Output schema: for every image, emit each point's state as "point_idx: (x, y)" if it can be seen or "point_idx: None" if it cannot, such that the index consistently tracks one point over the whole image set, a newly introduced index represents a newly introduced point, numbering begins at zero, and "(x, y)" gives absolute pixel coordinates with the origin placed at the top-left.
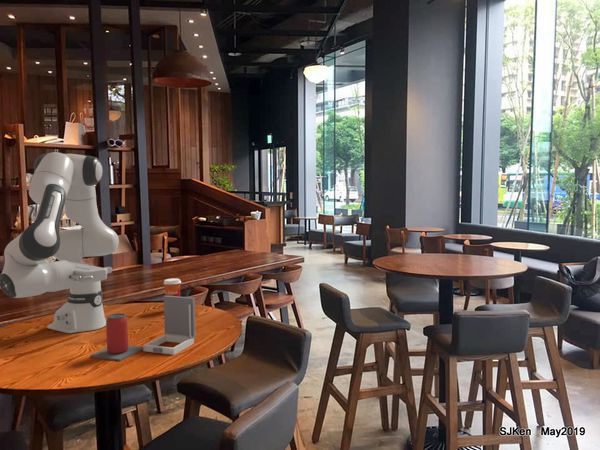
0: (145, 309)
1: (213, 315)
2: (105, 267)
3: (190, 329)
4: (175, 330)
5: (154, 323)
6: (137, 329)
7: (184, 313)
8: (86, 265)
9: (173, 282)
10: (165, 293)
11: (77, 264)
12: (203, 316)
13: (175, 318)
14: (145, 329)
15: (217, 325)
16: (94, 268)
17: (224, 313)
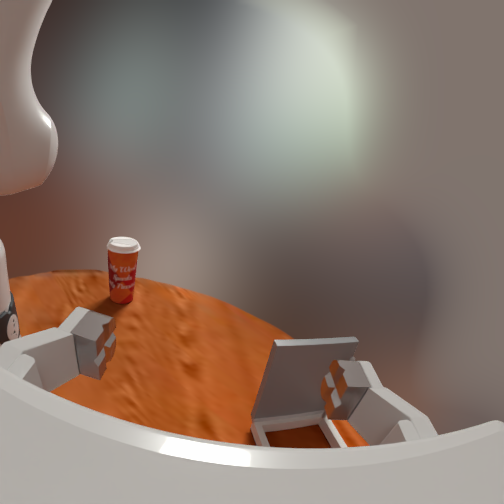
0: (67, 295)
1: (211, 309)
2: (357, 385)
3: None
4: (285, 409)
5: (134, 353)
6: (124, 387)
7: (324, 375)
8: (262, 486)
9: (132, 249)
10: (112, 269)
11: (39, 454)
12: (198, 314)
13: (295, 389)
14: (143, 385)
15: (263, 342)
16: (500, 482)
17: (220, 301)
